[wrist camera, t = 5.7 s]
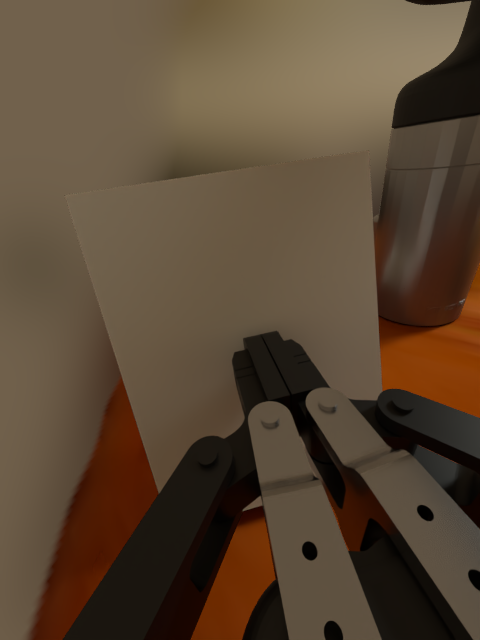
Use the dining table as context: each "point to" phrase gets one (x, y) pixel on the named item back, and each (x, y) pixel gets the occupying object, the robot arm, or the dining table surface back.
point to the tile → (231, 287)
